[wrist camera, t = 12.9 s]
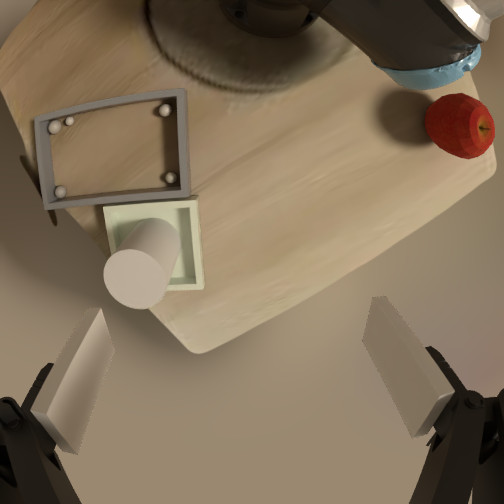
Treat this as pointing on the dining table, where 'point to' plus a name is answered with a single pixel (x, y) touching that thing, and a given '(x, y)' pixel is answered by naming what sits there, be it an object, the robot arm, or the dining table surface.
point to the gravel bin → (52, 193)
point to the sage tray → (177, 214)
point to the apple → (460, 125)
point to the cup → (143, 264)
